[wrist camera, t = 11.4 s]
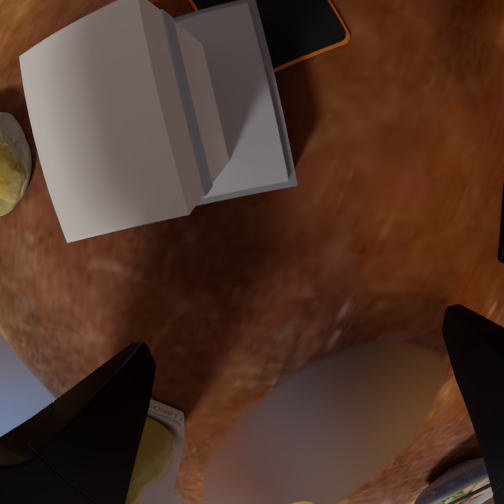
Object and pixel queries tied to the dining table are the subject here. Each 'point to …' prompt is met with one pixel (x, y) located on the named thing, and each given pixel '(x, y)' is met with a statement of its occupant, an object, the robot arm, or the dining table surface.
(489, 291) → the dining table surface
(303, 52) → the smartphone
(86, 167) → the carton
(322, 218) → the dining table surface
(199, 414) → the dining table surface
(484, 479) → the ramen bowl
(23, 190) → the bread roll
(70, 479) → the robot arm
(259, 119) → the display podium
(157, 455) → the juice carton
